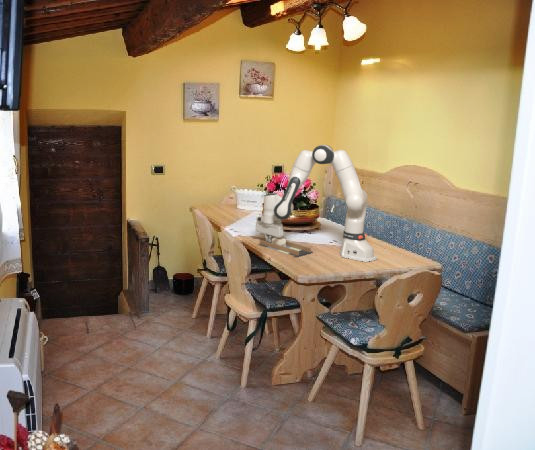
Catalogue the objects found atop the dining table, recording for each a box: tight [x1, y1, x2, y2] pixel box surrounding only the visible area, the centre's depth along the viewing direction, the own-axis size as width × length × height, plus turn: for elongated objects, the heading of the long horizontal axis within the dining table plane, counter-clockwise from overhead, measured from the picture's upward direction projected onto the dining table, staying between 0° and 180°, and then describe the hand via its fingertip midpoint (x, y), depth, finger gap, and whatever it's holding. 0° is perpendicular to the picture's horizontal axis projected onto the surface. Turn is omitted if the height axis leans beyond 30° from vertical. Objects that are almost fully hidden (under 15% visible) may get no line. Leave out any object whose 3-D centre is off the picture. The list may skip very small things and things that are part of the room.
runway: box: [257, 236, 314, 258], centre depth 323 cm, size 30×16×4 cm, turn 47°
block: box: [271, 237, 287, 247], centre depth 326 cm, size 6×6×4 cm
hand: (268, 241), depth 332 cm, fingers closed
